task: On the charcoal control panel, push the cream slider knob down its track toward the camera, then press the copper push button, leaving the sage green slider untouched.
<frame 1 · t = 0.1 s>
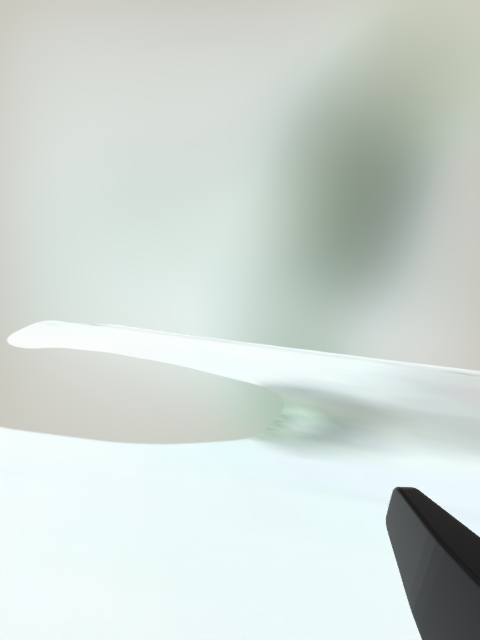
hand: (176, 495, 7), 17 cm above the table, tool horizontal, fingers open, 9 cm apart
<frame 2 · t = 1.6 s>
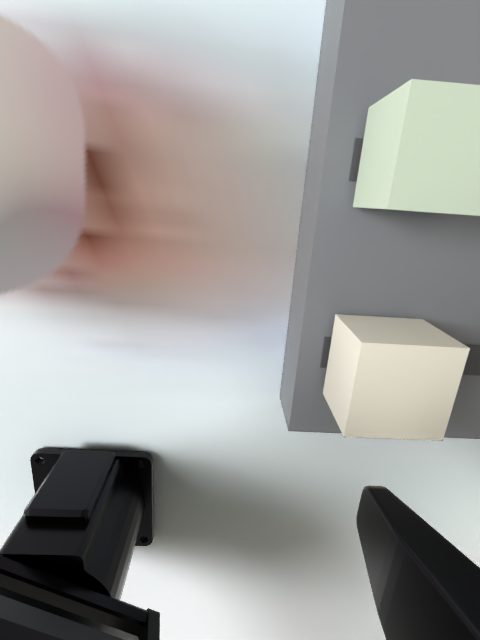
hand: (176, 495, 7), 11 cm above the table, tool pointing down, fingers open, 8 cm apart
cream slider: (386, 373, 14), point 5 cm above the table, slide at 0.0 cm
sage slider: (433, 158, 11), point 5 cm above the table, slide at 0.0 cm
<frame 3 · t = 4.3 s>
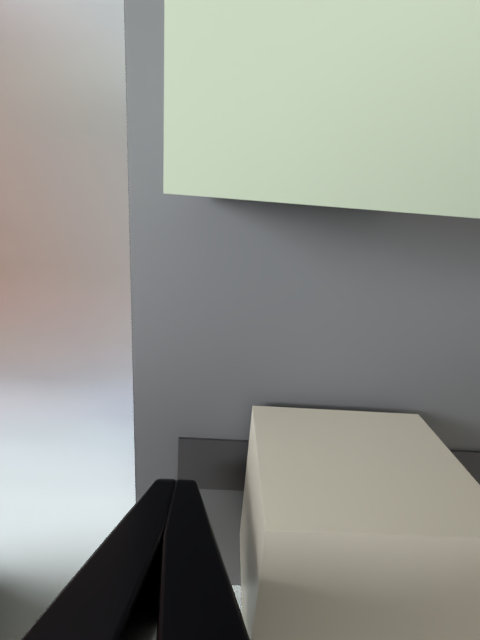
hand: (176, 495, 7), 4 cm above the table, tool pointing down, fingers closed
cream slider: (343, 536, 7), point 5 cm above the table, slide at 1.4 cm, touching gripper
sage slider: (336, 66, 4), point 5 cm above the table, slide at 0.0 cm
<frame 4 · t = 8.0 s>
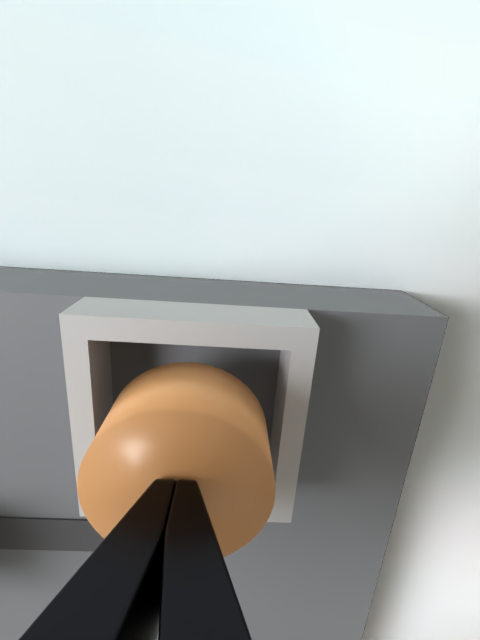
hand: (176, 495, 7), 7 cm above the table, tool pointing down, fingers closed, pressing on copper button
copper button: (183, 460, 8), point 6 cm above the table, slide at 0.2 cm, touching gripper
control panel: (128, 499, 16), on the table
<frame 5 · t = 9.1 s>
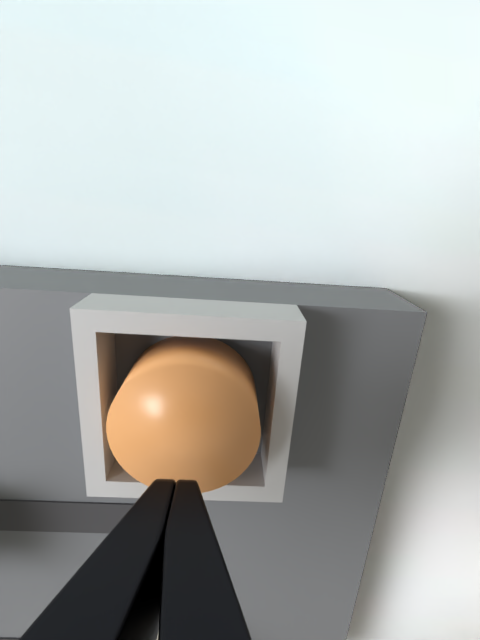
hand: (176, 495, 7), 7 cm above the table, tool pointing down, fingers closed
copper button: (188, 412, 10), point 4 cm above the table, slide at 1.5 cm
control panel: (130, 487, 16), on the table
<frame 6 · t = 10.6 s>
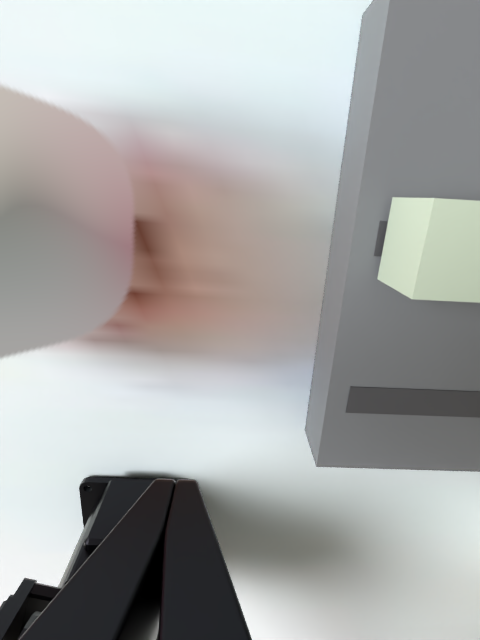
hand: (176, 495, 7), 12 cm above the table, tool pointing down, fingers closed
sage slider: (450, 247, 13), point 5 cm above the table, slide at 0.0 cm
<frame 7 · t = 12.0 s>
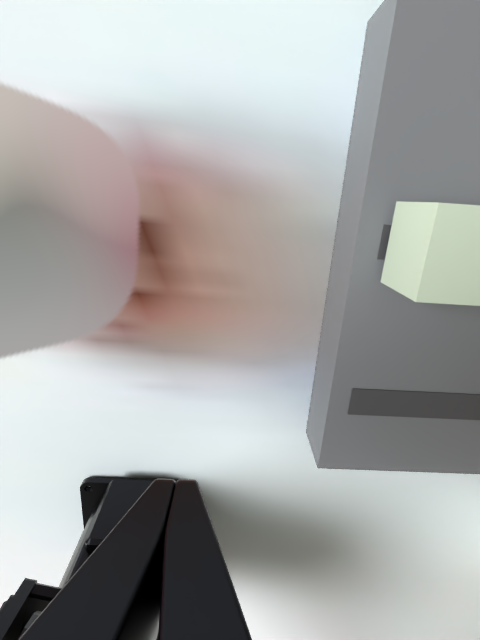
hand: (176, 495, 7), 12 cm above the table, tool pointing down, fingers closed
sage slider: (453, 251, 13), point 5 cm above the table, slide at 0.0 cm
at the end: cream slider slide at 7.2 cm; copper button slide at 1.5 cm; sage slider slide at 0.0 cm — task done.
